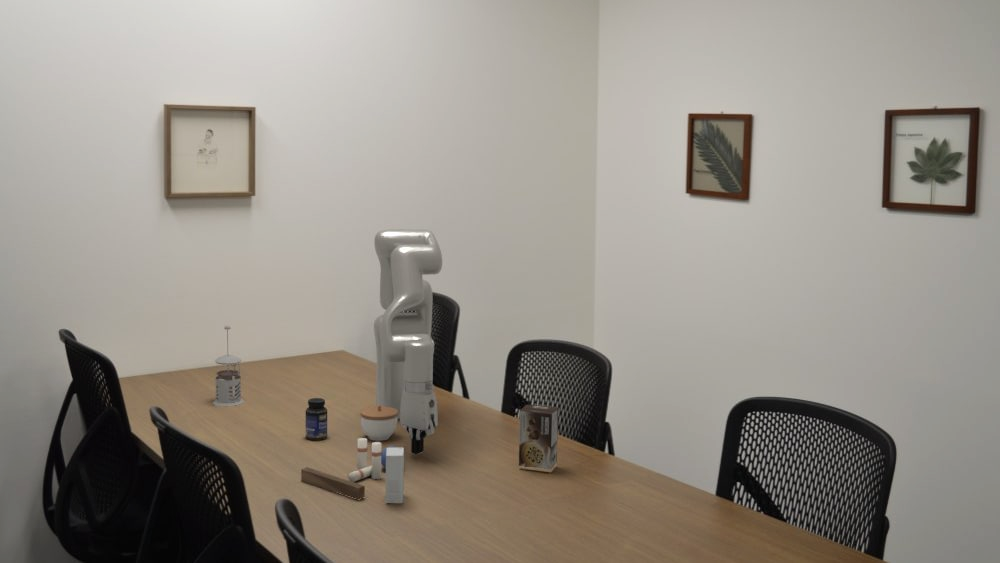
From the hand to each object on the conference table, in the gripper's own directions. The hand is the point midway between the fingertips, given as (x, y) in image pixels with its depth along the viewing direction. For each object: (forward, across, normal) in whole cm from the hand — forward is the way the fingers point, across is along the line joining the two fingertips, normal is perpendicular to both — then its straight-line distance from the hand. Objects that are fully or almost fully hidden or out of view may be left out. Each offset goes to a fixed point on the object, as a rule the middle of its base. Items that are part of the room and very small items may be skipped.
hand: (417, 452), depth 259 cm
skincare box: (+2, -16, +26) cm, 31 cm away
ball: (-2, -1, +11) cm, 11 cm away
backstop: (+2, 0, +31) cm, 31 cm away
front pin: (0, 0, +16) cm, 16 cm away
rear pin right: (+2, +2, +18) cm, 19 cm away
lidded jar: (+2, +20, -6) cm, 21 cm away
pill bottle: (+2, +33, +6) cm, 34 cm away
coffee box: (+2, -29, -15) cm, 33 cm away
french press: (+2, +81, -1) cm, 81 cm away
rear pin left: (+2, -2, +18) cm, 19 cm away
